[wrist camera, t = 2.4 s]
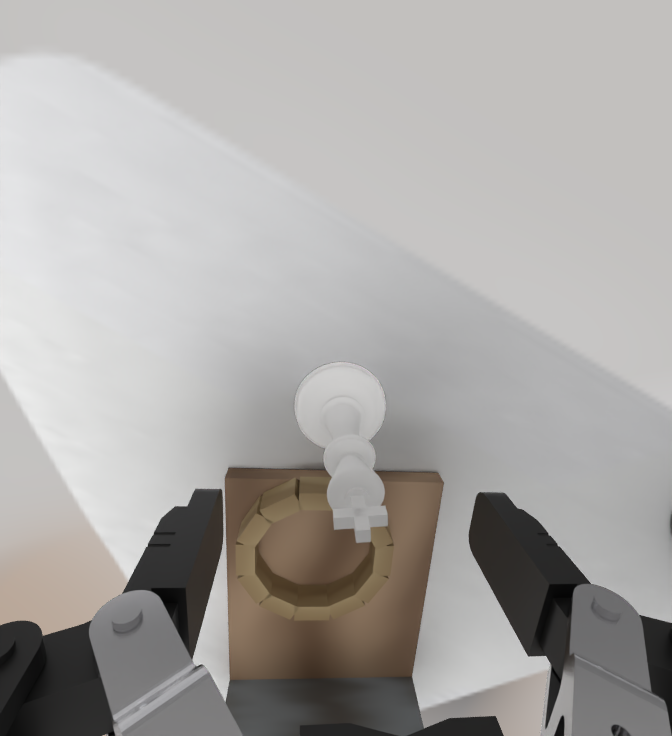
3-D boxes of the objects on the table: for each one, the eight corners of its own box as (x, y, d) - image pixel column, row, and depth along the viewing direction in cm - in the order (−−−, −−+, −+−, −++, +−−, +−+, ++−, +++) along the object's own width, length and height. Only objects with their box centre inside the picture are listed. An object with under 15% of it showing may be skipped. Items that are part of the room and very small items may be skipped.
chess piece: (291, 363, 20) (272, 468, 11) (385, 359, 20) (449, 458, 11) (297, 448, 22) (285, 606, 12) (385, 443, 22) (441, 594, 12)
